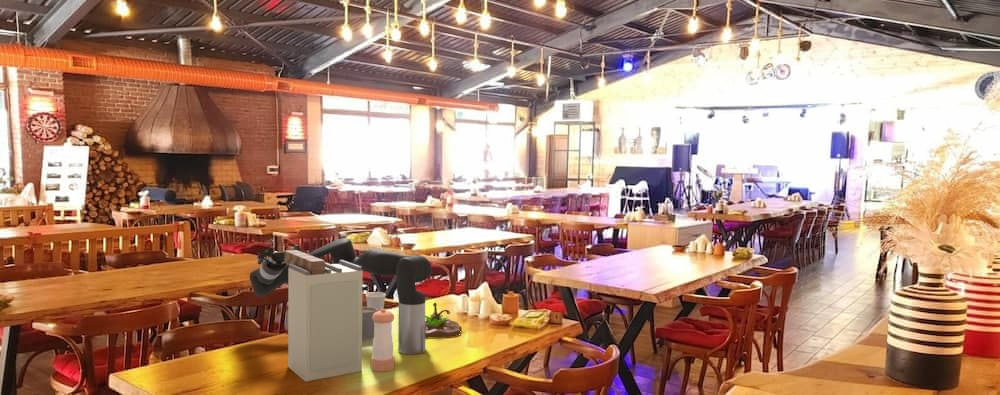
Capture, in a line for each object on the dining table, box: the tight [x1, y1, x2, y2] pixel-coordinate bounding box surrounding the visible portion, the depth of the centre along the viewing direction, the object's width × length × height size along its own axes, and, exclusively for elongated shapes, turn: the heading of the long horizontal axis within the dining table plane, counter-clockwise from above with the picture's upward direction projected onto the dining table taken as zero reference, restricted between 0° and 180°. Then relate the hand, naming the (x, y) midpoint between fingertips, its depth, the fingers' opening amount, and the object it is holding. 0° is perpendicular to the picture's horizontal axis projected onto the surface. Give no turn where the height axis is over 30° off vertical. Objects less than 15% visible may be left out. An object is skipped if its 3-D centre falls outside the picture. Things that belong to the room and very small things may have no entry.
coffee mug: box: [362, 306, 378, 340], centre depth 245 cm, size 13×10×10 cm
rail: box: [283, 249, 326, 275], centre depth 204 cm, size 26×4×4 cm, turn 36°
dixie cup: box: [365, 291, 387, 311], centre depth 271 cm, size 8×8×10 cm
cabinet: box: [287, 260, 364, 383], centre depth 203 cm, size 16×18×33 cm
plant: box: [425, 302, 463, 339], centre depth 253 cm, size 20×20×11 cm
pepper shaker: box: [370, 308, 395, 372], centre depth 206 cm, size 7×7×19 cm
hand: (285, 248), depth 219 cm, fingers open, 8 cm apart
